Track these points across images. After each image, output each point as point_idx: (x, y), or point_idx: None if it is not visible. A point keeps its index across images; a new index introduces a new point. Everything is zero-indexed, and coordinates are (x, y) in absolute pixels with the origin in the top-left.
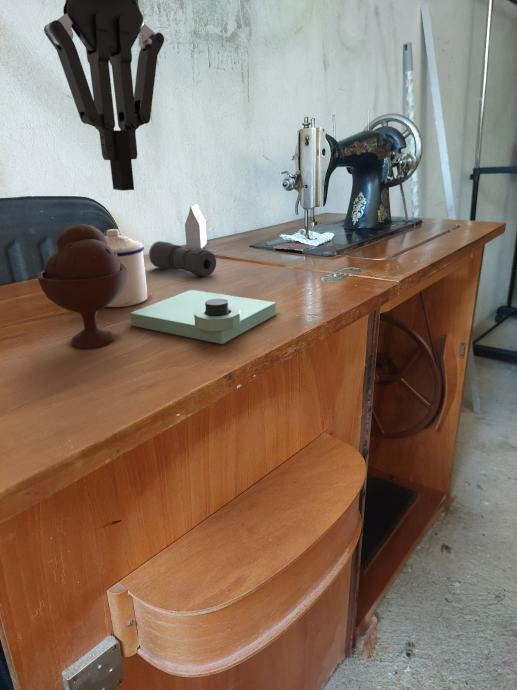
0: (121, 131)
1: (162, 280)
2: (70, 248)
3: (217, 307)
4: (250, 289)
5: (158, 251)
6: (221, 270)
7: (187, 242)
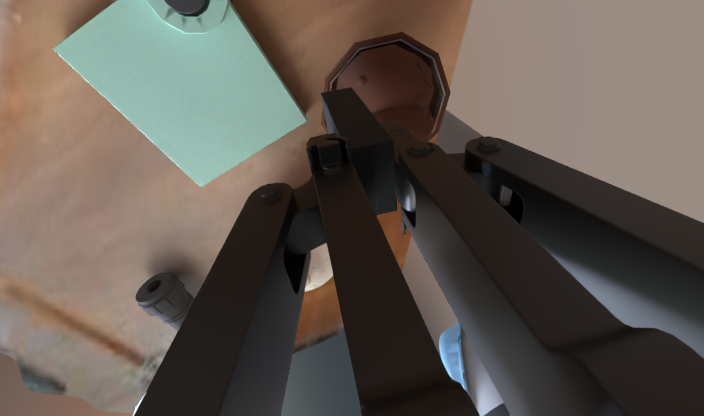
0: (372, 141)
1: None
2: (422, 89)
3: None
4: (96, 195)
5: None
6: (132, 295)
7: None
